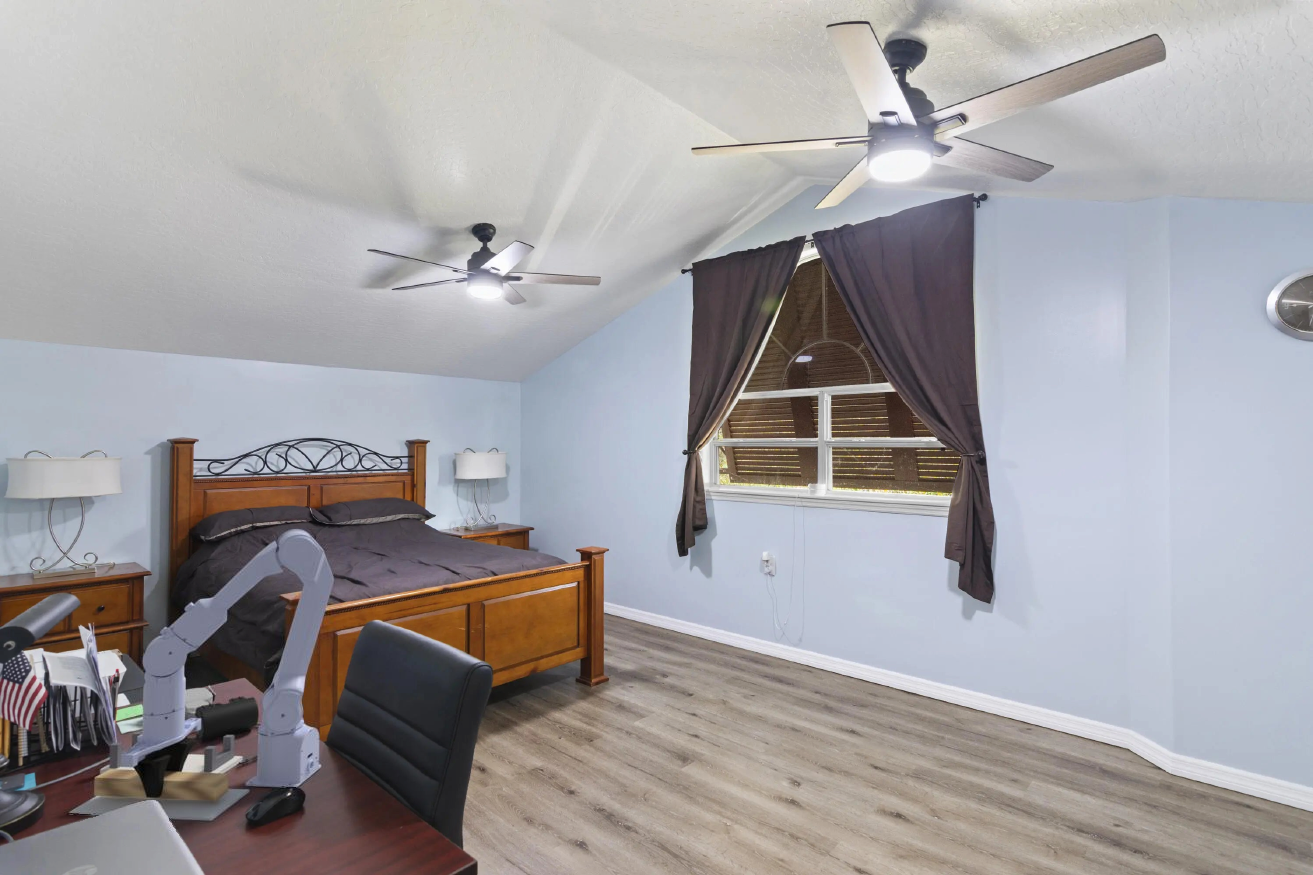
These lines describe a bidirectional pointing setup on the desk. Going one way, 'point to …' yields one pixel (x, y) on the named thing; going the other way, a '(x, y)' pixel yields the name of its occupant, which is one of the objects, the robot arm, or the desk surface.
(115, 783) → the oak rail
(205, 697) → the robot toy
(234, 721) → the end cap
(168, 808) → the rubber mat
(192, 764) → the hook rack
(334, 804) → the desk surface
